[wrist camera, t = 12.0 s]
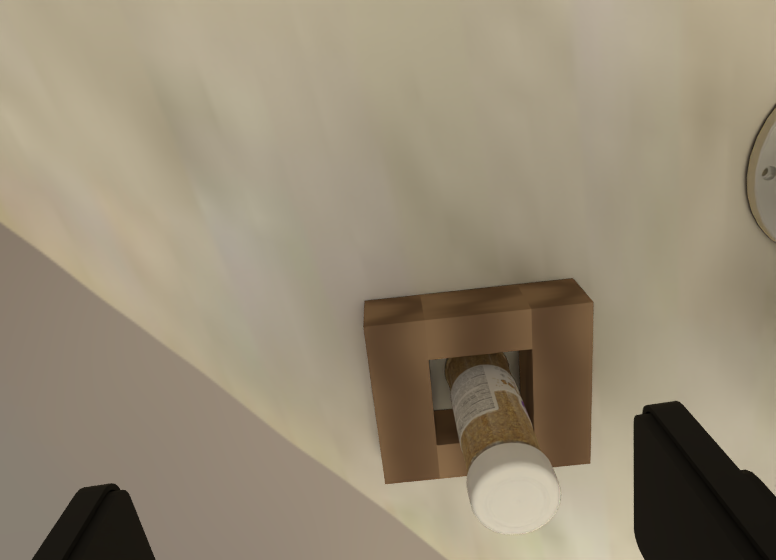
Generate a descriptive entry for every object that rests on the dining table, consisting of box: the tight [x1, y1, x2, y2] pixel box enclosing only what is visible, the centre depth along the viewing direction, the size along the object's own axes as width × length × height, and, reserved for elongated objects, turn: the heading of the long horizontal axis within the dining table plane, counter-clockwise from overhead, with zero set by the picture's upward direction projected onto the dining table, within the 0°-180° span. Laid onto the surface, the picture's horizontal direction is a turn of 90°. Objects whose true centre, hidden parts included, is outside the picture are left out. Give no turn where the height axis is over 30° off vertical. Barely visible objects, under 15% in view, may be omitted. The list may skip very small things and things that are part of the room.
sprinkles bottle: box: [445, 352, 561, 535], centre depth 35 cm, size 5×5×14 cm
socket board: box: [363, 278, 594, 484], centre depth 40 cm, size 14×12×4 cm
